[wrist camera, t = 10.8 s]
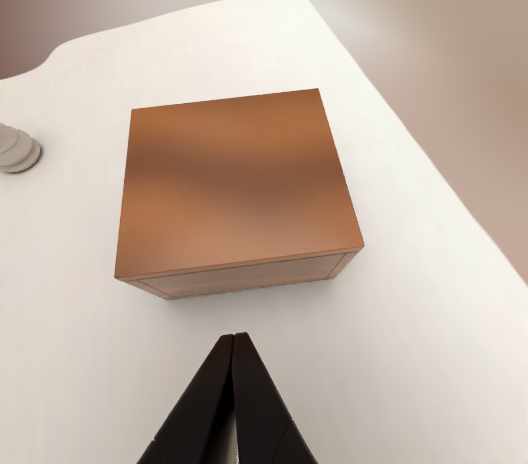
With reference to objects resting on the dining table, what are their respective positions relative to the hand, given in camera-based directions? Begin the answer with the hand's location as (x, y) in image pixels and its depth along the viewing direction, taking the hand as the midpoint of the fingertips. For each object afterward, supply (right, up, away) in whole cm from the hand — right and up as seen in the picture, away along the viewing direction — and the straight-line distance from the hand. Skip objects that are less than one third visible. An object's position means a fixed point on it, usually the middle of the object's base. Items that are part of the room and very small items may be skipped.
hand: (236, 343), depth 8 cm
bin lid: (-1, +7, +9) cm, 11 cm away
